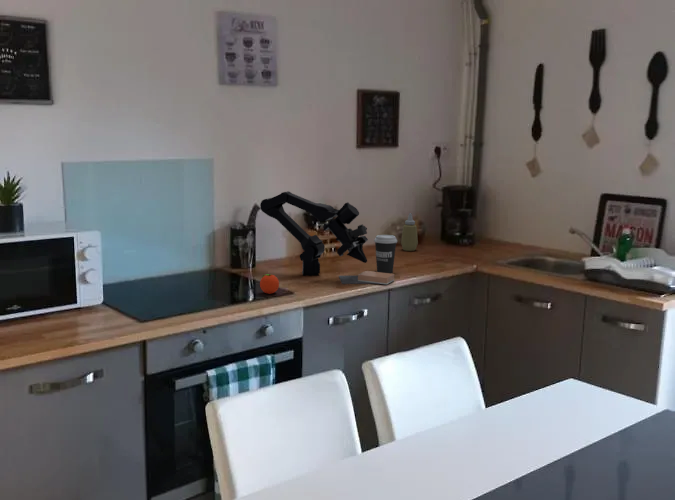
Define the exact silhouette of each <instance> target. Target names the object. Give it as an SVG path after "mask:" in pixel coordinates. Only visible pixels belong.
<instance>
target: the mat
mask: <svg viewBox="0 0 675 500" xmlns="http://www.w3.org/2000/svg"><path fill="white" fill-rule="evenodd" d="M338 278H339V281H340V283H341V285H349V284H350V285H353V284H354V285H358V284H359V285H361V284H362V285H365V284H367V285H368V284H371V285H372V284H375V285H376V284H379V283H371V282H362V281H358V274H356V275H355V274H354V275H338Z"/></svg>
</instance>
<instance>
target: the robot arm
mask: <svg viewBox="0 0 675 500" xmlns="http://www.w3.org/2000/svg"><path fill="white" fill-rule="evenodd" d="M285 204H289V205H291V206H294V207H295V208H298V209H301V210H302V211H305V212H308V213H309V214H311V215H312V216H313V217H314V219H316V220H318V221H320V222H324V223H323V231H324V232H325V231H328V230H329V231H330V232H331V233H332V234H333V236H334V237H335V241H336V242H340V243H341V245H340V246H339V247H338V248H337V249H336V253H337V255H338V257H342V256H344V255H345V253H346V252H348V253H347V254H346V255H347V256H349V257H351V258H354V259H356V260H357V261H360V262H362V263H364V264H366V263H368V258H367V256H366V254H365V252H364V249H363V247H364V244H365V243H366V242H368V237H366V235H367V234H368V232H367V230H368V228H367V227H366V225H364V224H359V225H357V228H356V229H352V228H348V227H347V226H346V225H350V224H351V223H352V222H353V221H354V220H355V219H357V217H358V216H359V215H360V212H359V209H358V208H357V207H356V206H354V205H352V204H350V203H349V202H348V201H347V202H345V203H343V206H342V207H341V208H339V209H336V208H334V207H333V206H332V205H330V204H326V203H325V204H324V203H318V202H314V201H312V200H309V199H306V198H305V197H302V196H299V195H297V194H294V193H292V192H291V191H289V190H288V191H282V192H281V193H280V194H278V195H275V196H273V197H268V198H264V199H262V200H261V202H260V205H259V207H260V210H261V212H262V213H264V214H265V215H267V216H268V217H270V218H272V219H275V220H277V222H278V223H279V224H280V225H282V227H283V228H285V229H286V230H287V231H288V232H289V233H290V235H292V236H293V237H294V239H296V240H297V241H298V242H299V244H300V246H301V248H302V250H303V252H302V253H301V254H299V259H300V261H302V273H301V274H302V276H305V277H306V276H310V277H311V276H314V277H317V276H320V274H321V263H320V262H319V259H321V256H322V255H323V254H324V252H325V251H326V248H325V246H326V245H325V244H324V240H322V239H320V238H319V236H318V235H317V234H315V235H314V234H313V235H310V234H309V233H307V231H305V230H304V229H303V227H301V226H300V225H299V224H298V223H297V222H296V221H295V220H294V219H293V218H292V217H291V216H290V215H289V214H288V213H286V211H285V208H284V207H283V206H284V205H285ZM334 217H335V218H334ZM326 221H328V222H326Z"/></svg>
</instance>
